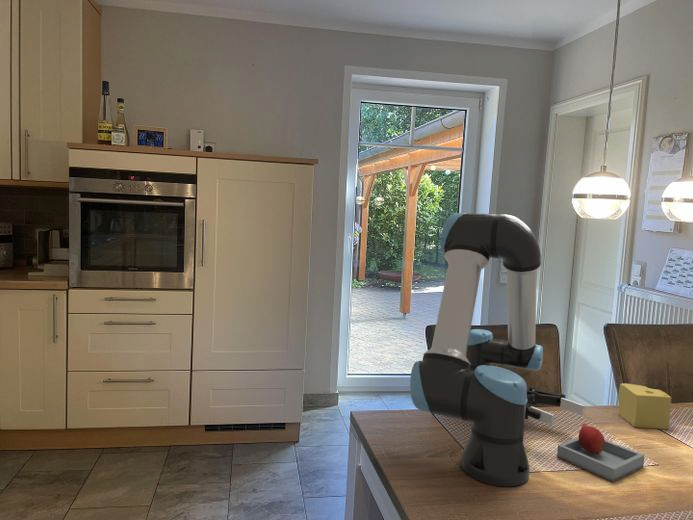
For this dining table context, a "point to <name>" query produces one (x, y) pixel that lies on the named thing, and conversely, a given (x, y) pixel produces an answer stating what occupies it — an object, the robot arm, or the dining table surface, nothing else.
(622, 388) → the cheese
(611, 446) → the tray
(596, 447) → the onion
